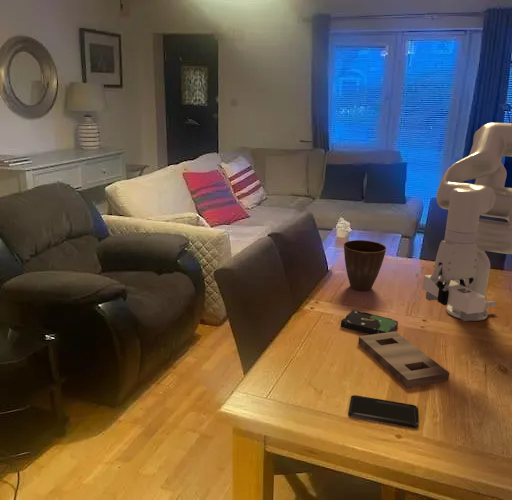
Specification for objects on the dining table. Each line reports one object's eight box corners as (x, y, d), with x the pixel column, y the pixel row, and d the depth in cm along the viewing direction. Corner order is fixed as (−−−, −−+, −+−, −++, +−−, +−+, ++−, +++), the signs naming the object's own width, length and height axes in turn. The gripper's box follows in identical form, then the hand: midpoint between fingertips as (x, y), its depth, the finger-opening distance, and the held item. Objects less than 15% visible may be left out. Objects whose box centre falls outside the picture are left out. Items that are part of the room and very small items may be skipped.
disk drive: (339, 329, 157) (387, 340, 150) (340, 320, 156) (388, 332, 149) (351, 317, 165) (397, 327, 158) (352, 309, 165) (398, 319, 157)
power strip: (436, 295, 147) (439, 273, 145) (482, 320, 130) (486, 296, 129) (421, 297, 145) (424, 274, 143) (466, 323, 129) (469, 298, 127)
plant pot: (387, 285, 191) (392, 244, 187) (373, 298, 179) (377, 254, 175) (350, 277, 199) (353, 237, 194) (334, 289, 187) (337, 247, 182)
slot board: (358, 343, 147) (358, 336, 146) (394, 338, 150) (395, 331, 150) (407, 387, 125) (408, 379, 124) (448, 380, 129) (449, 372, 128)
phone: (419, 425, 110) (348, 413, 113) (418, 430, 110) (347, 417, 114) (418, 405, 117) (351, 394, 121) (417, 409, 117) (351, 398, 121)
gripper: (476, 230, 138) (466, 294, 143) (423, 234, 133) (415, 300, 138) (497, 238, 131) (486, 304, 137) (442, 242, 126) (433, 311, 131)
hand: (450, 301), depth 137 cm, fingers closed on power strip, 5 cm apart
